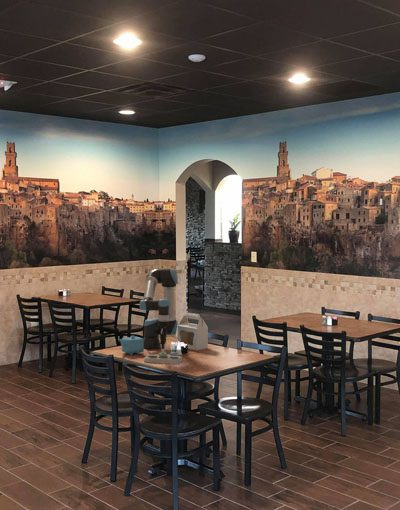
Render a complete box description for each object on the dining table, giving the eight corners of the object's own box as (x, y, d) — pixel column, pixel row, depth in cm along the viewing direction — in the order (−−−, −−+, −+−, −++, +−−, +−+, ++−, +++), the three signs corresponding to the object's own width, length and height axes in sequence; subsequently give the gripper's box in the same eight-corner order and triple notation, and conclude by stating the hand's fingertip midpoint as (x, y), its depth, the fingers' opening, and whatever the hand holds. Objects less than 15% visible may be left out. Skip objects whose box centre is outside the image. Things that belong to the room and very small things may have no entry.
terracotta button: (149, 352, 470) (149, 350, 470) (157, 353, 469) (157, 351, 469) (147, 354, 464) (147, 352, 464) (155, 354, 463) (155, 352, 463)
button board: (148, 358, 473) (148, 354, 473) (181, 360, 469) (181, 356, 469) (144, 362, 462) (144, 357, 461) (178, 363, 457) (178, 359, 457)
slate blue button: (170, 353, 467) (170, 351, 467) (178, 354, 466) (178, 352, 466) (168, 355, 461) (168, 353, 461) (177, 356, 460) (177, 353, 460)
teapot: (140, 351, 501) (140, 333, 500) (146, 353, 492) (147, 336, 491) (114, 354, 489) (114, 336, 488) (120, 356, 480) (121, 338, 479)
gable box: (177, 346, 523) (177, 312, 522) (188, 344, 533) (189, 311, 532) (196, 350, 508) (197, 315, 507) (208, 348, 517) (208, 313, 516)
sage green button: (160, 354, 469) (160, 352, 469) (168, 354, 468) (168, 352, 468) (158, 356, 463) (158, 353, 463) (166, 356, 462) (166, 354, 462)
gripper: (160, 319, 471) (160, 351, 472) (156, 321, 458) (155, 354, 459) (170, 319, 470) (170, 351, 471) (166, 322, 457) (166, 354, 458)
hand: (163, 352), depth 465 cm, fingers closed
